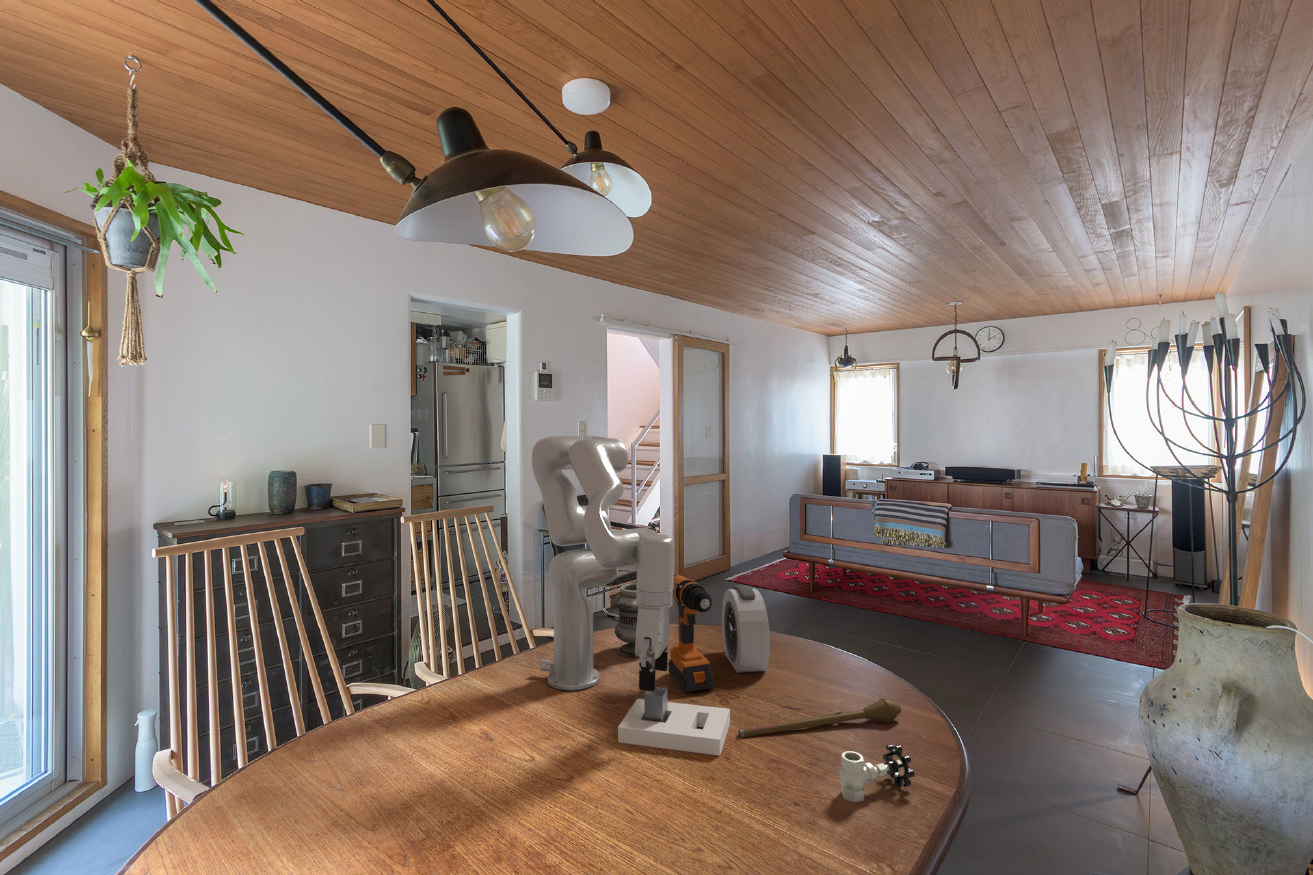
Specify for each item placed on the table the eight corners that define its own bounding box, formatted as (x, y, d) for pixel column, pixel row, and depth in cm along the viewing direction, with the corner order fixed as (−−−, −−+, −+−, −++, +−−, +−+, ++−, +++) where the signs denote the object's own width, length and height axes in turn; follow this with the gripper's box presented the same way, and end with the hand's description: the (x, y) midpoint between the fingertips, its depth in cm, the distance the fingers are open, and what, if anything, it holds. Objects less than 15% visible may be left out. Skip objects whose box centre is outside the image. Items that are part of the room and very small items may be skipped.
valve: (855, 810, 96) (915, 794, 100) (855, 769, 96) (914, 754, 100) (829, 787, 102) (887, 773, 106) (829, 748, 102) (886, 736, 106)
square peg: (644, 733, 120) (644, 693, 120) (649, 724, 124) (649, 686, 124) (662, 736, 119) (662, 695, 119) (667, 727, 123) (667, 688, 123)
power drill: (725, 702, 134) (725, 590, 134) (694, 707, 132) (693, 593, 132) (692, 667, 155) (692, 570, 155) (665, 670, 153) (664, 572, 153)
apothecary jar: (610, 657, 162) (609, 590, 162) (620, 642, 174) (619, 580, 174) (654, 660, 160) (653, 592, 160) (661, 644, 172) (661, 581, 172)
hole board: (618, 742, 117) (618, 726, 117) (637, 712, 130) (637, 698, 130) (720, 755, 112) (719, 739, 112) (729, 723, 125) (729, 708, 125)
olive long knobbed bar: (744, 751, 117) (736, 741, 121) (906, 724, 123) (893, 715, 128) (742, 726, 117) (734, 717, 122) (904, 700, 124) (891, 693, 128)
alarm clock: (721, 648, 168) (721, 577, 168) (748, 647, 169) (747, 576, 169) (740, 678, 147) (740, 598, 147) (770, 677, 148) (770, 596, 148)
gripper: (648, 583, 131) (647, 661, 132) (624, 607, 115) (622, 695, 115) (682, 586, 129) (680, 665, 130) (662, 611, 113) (660, 701, 113)
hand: (653, 679), depth 122 cm, fingers open, 9 cm apart
